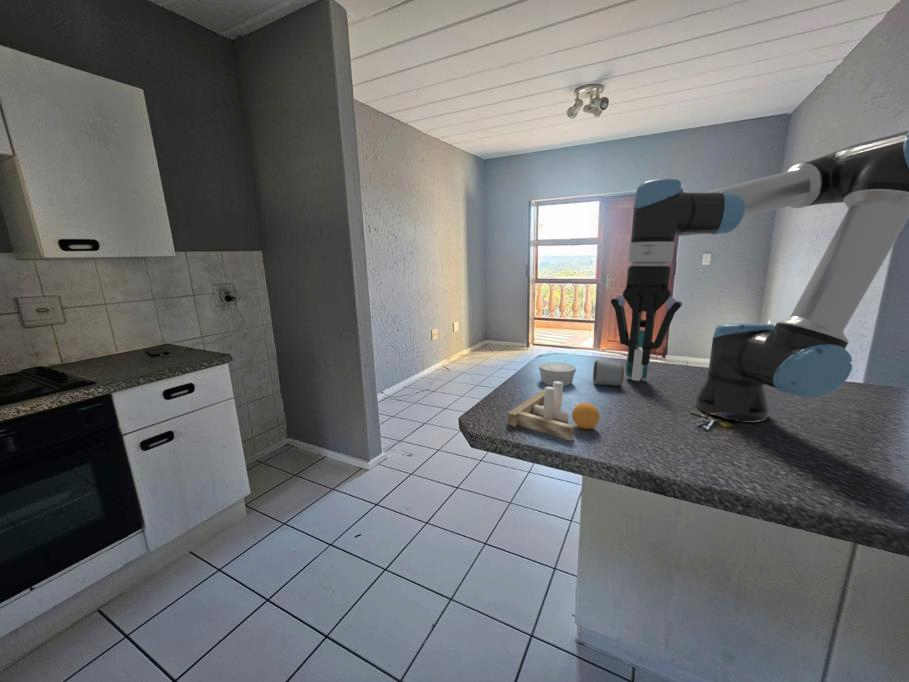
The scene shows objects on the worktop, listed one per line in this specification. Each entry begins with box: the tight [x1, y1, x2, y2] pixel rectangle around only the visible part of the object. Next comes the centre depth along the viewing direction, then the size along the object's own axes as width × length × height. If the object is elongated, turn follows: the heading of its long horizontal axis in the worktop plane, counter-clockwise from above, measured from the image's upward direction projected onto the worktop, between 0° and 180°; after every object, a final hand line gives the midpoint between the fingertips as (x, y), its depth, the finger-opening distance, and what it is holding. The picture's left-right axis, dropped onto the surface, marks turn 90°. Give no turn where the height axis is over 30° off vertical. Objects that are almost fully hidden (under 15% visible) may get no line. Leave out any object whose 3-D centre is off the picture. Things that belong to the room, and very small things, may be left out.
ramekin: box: [538, 361, 577, 387], centre depth 118 cm, size 11×11×5 cm
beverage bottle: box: [624, 318, 649, 380], centre depth 117 cm, size 6×7×20 cm
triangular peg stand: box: [507, 389, 575, 442], centre depth 91 cm, size 15×20×3 cm
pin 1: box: [542, 386, 555, 420], centre depth 88 cm, size 2×2×8 cm
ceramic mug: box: [592, 359, 625, 387], centre depth 116 cm, size 11×8×8 cm
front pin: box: [532, 404, 570, 423], centre depth 91 cm, size 2×2×8 cm
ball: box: [571, 402, 600, 430], centre depth 85 cm, size 6×6×6 cm
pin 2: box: [552, 381, 564, 411], centre depth 92 cm, size 2×2×8 cm
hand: (636, 378), depth 78 cm, fingers closed
